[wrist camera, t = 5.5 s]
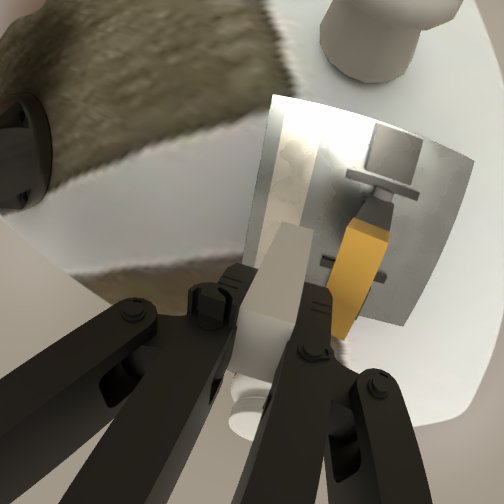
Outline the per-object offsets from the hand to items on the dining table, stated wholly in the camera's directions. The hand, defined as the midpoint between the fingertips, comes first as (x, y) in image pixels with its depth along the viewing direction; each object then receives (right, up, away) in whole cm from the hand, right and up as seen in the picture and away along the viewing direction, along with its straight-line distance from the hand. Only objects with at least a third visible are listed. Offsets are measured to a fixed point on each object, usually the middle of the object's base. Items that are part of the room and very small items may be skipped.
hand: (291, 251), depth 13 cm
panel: (+5, +3, +6) cm, 9 cm away
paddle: (+6, +1, +4) cm, 7 cm away
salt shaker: (+6, +14, +1) cm, 15 cm away
